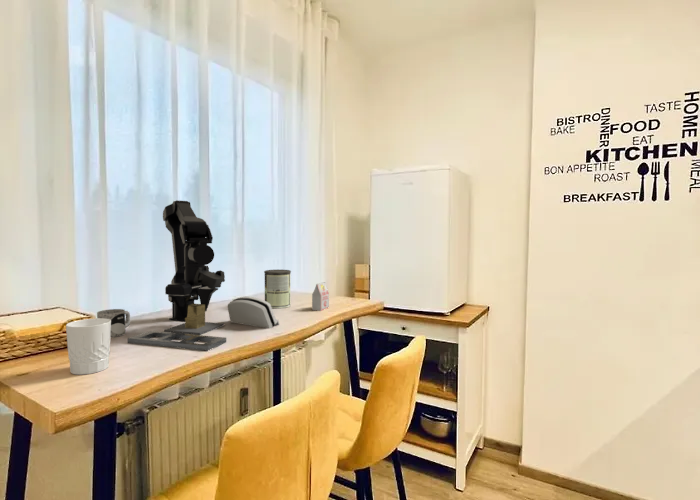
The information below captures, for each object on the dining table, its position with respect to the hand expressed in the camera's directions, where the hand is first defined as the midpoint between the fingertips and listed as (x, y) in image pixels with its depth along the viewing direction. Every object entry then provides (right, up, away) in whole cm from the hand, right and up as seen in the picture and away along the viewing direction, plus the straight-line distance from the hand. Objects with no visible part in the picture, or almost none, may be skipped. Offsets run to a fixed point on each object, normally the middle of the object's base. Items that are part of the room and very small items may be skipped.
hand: (195, 314), depth 117 cm
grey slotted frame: (+1, -5, -15) cm, 15 cm away
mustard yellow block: (0, -4, 0) cm, 4 cm away
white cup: (-8, -6, -35) cm, 36 cm away
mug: (-20, -5, -6) cm, 22 cm away
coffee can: (+18, -3, +37) cm, 41 cm away
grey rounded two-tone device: (+15, -5, +6) cm, 17 cm away
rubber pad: (0, -4, 0) cm, 4 cm away
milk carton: (+35, -4, +32) cm, 48 cm away
